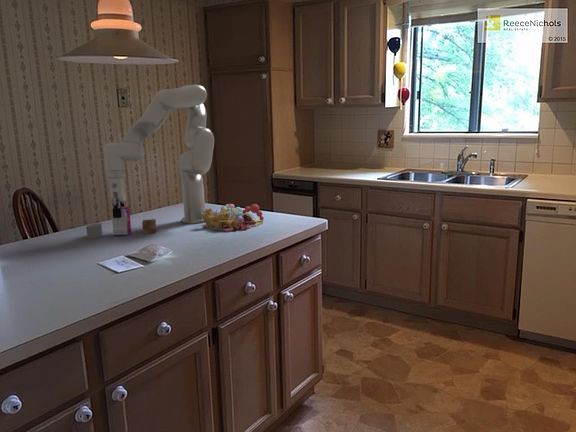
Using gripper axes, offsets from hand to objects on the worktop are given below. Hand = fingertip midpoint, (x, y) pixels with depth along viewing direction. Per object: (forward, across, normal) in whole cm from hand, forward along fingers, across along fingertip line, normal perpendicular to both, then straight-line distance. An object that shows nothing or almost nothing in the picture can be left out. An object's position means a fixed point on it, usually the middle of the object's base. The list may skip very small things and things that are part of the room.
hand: (119, 215), depth 201 cm
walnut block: (+8, 0, -12) cm, 14 cm away
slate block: (+9, 0, +10) cm, 13 cm away
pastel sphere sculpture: (+8, +3, -47) cm, 48 cm away
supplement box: (+8, 0, -1) cm, 8 cm away
